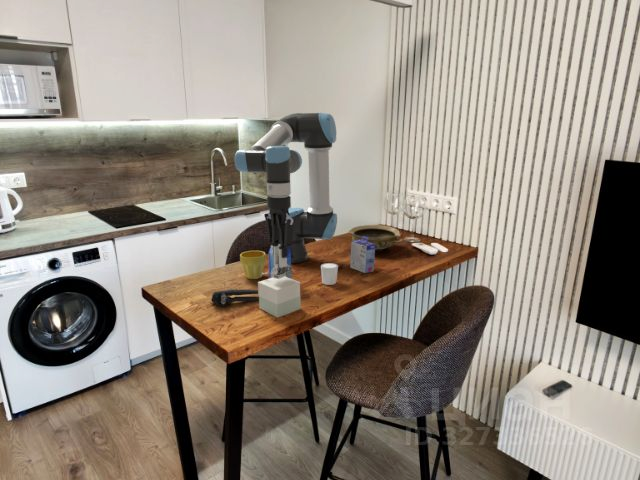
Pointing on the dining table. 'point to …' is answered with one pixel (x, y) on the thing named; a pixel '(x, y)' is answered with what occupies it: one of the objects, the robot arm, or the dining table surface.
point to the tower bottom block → (280, 306)
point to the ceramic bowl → (376, 235)
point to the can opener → (224, 299)
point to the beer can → (271, 261)
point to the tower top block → (279, 289)
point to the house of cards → (280, 271)
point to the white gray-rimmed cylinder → (329, 273)
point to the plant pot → (253, 263)
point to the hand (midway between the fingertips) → (280, 265)
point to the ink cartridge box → (362, 255)
